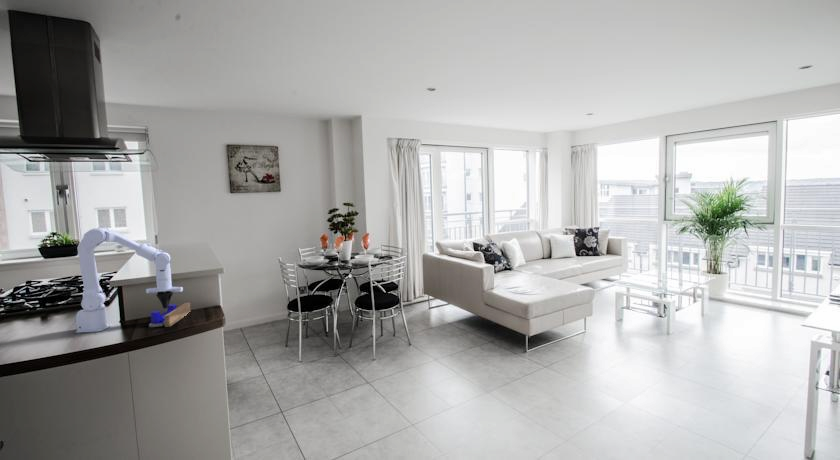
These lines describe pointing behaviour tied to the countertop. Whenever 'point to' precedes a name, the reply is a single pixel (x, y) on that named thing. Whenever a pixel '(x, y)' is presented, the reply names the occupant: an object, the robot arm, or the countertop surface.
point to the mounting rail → (157, 324)
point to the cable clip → (157, 317)
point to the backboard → (176, 314)
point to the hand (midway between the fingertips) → (165, 307)
